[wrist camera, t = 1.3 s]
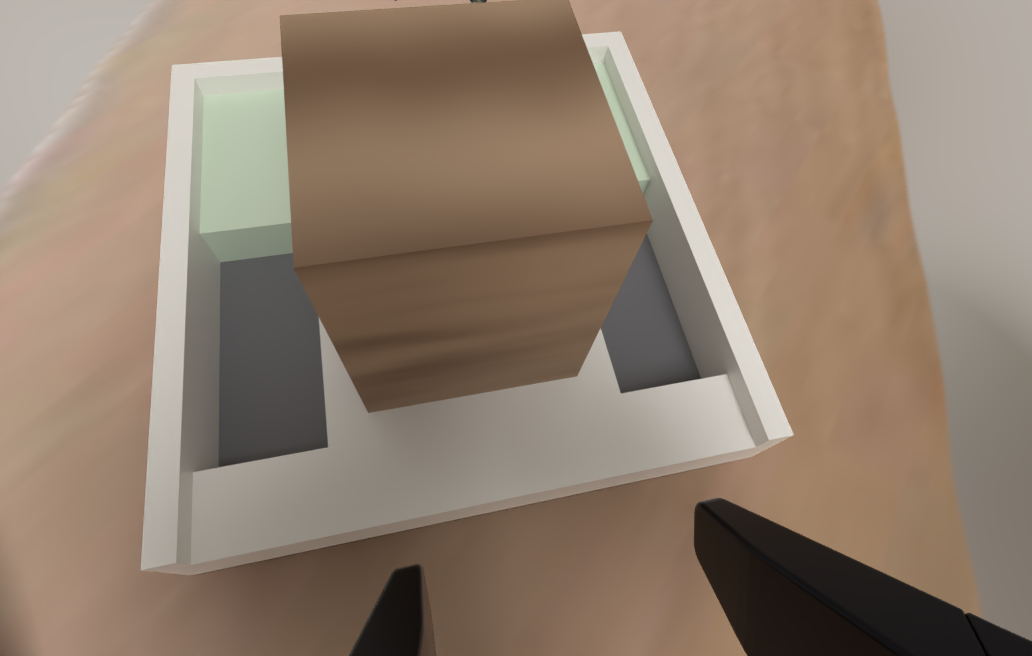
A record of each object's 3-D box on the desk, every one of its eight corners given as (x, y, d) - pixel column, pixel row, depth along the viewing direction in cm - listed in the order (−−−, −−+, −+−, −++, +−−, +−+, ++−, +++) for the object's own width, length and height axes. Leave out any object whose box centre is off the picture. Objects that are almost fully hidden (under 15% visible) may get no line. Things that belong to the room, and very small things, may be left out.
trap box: (750, 457, 24) (793, 435, 21) (191, 575, 20) (140, 570, 17) (606, 86, 33) (620, 31, 30) (203, 122, 29) (171, 65, 26)
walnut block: (577, 376, 22) (653, 219, 13) (368, 413, 21) (293, 267, 12) (531, 211, 25) (567, -3, 16) (349, 234, 24) (279, 15, 15)
